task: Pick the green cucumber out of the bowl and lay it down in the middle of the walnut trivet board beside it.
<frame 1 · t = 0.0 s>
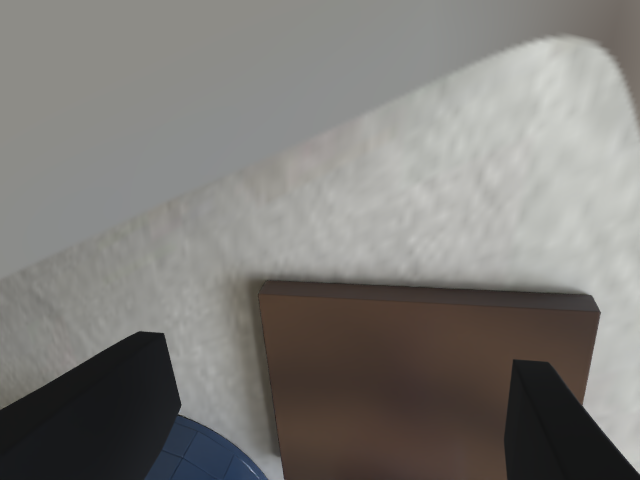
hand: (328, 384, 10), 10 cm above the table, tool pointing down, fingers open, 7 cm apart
trivet: (416, 391, 23), on the table
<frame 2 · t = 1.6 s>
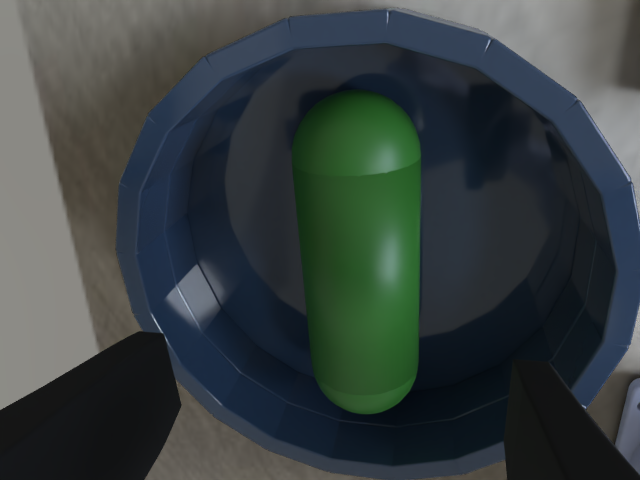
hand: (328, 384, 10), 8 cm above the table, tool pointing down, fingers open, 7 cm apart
cucumber: (360, 266, 15), in the bowl
bowl: (369, 236, 17), on the table
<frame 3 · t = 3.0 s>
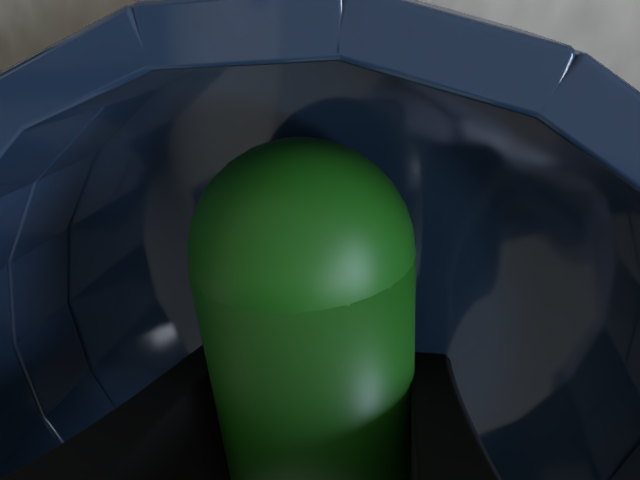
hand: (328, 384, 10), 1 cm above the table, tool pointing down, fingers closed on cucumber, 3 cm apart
cucumber: (317, 415, 9), in the bowl, touching gripper
bowl: (339, 342, 11), on the table
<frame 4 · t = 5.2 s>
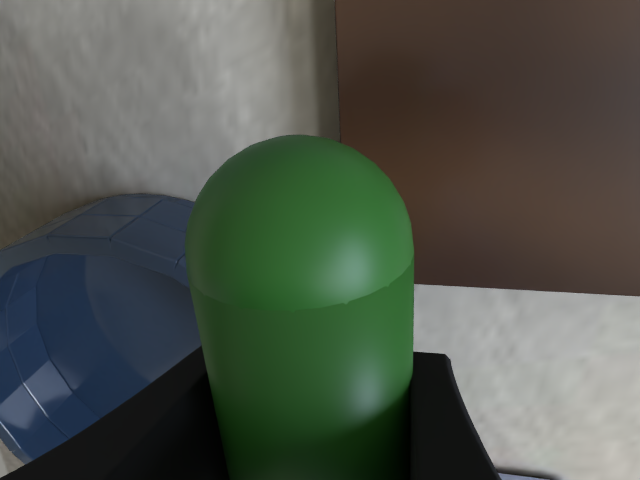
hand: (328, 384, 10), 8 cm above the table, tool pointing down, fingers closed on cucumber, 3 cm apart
trivet: (559, 112, 15), on the table
cucumber: (316, 414, 9), point 9 cm above the table, touching gripper
bowl: (176, 345, 22), on the table
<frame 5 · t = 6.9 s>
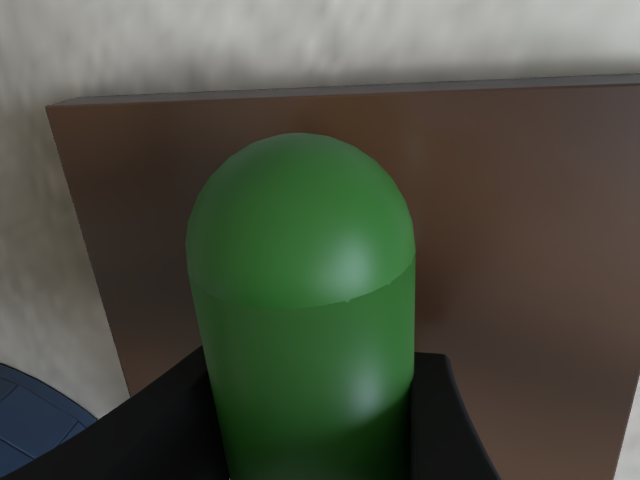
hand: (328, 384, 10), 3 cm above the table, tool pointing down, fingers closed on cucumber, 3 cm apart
trivet: (351, 303, 13), on the table
cucumber: (317, 413, 9), point 4 cm above the table, touching gripper
when the fingers open (2 cm above the table, at t = 7.6 s): cucumber stays where it is, resting on trivet.
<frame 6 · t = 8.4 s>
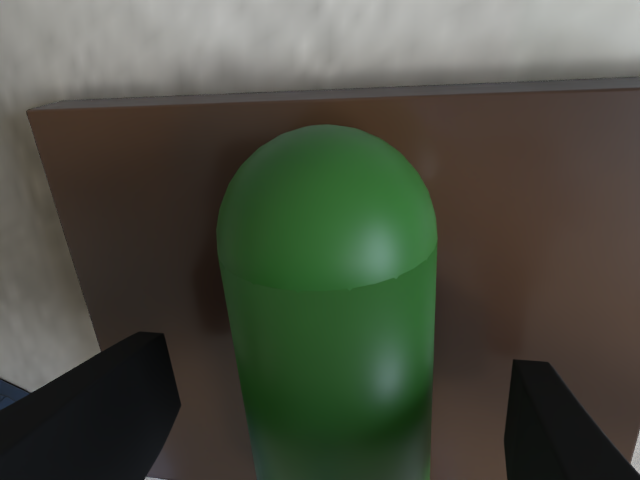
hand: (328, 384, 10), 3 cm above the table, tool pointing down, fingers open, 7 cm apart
trivet: (347, 315, 12), on the table
cucumber: (337, 398, 10), on the trivet, point 3 cm above the table, tilted 10°
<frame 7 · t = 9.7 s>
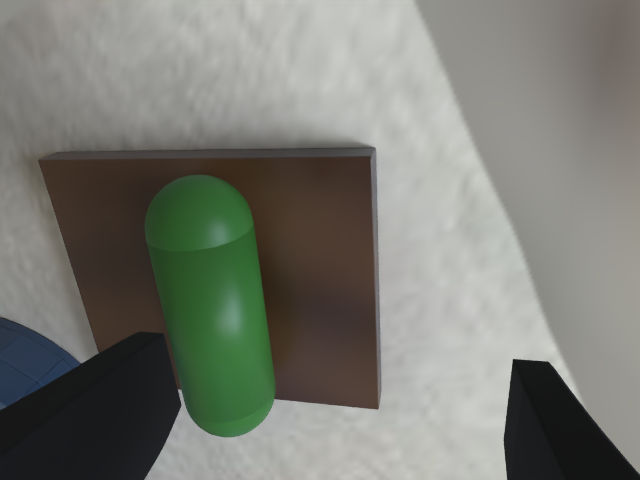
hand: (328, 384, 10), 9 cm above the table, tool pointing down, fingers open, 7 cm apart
trivet: (226, 276, 21), on the table
cucumber: (216, 314, 18), point 3 cm above the table, tilted 27°, touching trivet
bowl: (16, 417, 29), on the table
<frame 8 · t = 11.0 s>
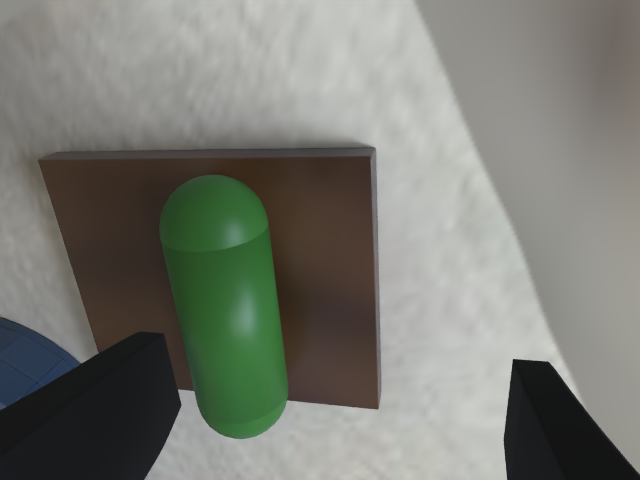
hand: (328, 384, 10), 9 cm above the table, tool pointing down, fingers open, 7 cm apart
trivet: (226, 276, 21), on the table
cucumber: (230, 315, 18), resting on trivet, tilted 44°
bowl: (16, 417, 29), on the table
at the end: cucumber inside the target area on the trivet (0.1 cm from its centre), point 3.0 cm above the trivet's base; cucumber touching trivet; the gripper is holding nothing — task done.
